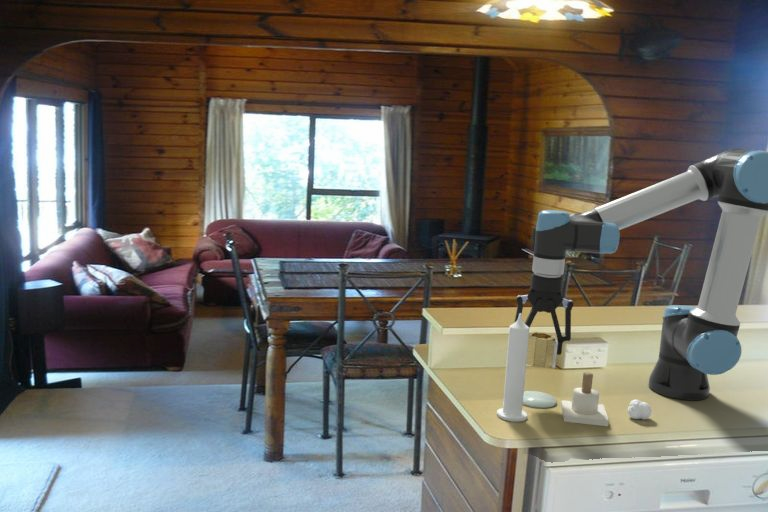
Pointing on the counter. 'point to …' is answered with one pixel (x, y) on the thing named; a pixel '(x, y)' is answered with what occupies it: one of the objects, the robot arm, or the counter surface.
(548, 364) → the brass hex nut
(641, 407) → the microfossil shell
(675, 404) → the counter surface
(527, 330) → the candle
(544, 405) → the coaster
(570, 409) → the stand
